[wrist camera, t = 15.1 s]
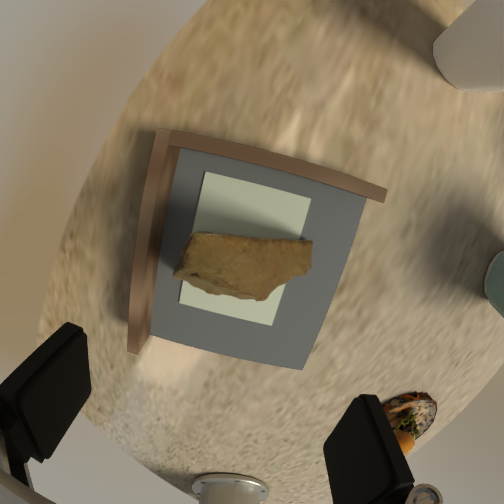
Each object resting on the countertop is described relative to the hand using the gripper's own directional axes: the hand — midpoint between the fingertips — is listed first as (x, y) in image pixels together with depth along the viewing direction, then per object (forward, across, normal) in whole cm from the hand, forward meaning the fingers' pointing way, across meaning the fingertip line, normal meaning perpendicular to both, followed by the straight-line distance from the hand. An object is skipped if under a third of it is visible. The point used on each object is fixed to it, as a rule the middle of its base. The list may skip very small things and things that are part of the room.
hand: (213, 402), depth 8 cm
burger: (+17, -25, +17) cm, 35 cm away
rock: (+15, 0, -1) cm, 15 cm away
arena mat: (+16, 0, 0) cm, 16 cm away
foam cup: (+16, -15, -25) cm, 33 cm away
